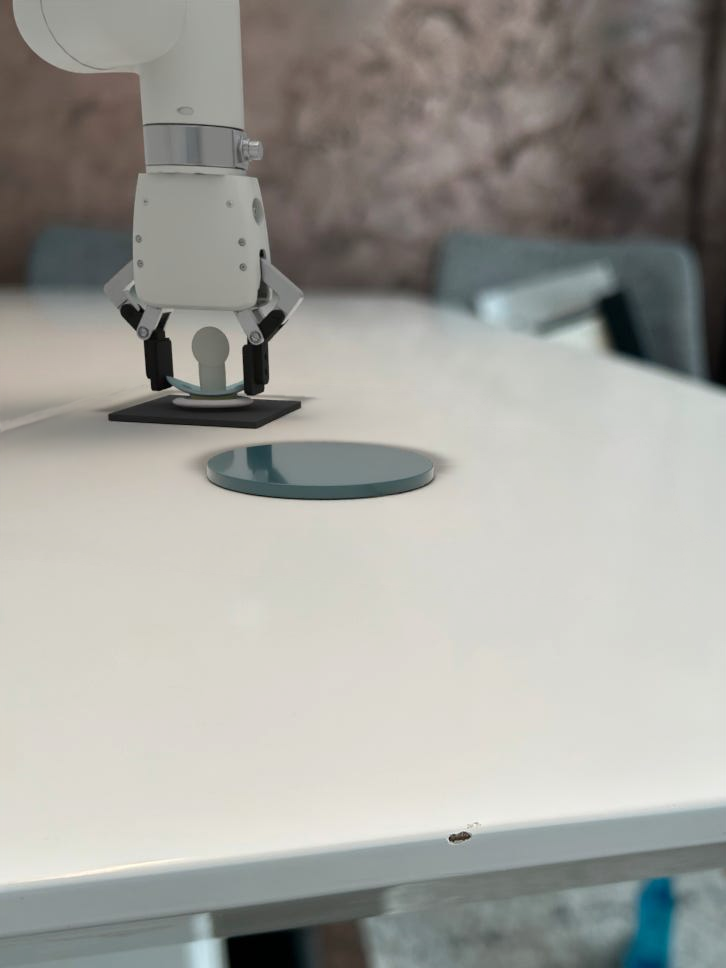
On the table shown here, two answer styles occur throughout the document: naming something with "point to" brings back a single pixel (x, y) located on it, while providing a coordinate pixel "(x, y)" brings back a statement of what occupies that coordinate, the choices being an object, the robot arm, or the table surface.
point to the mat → (206, 413)
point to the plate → (320, 470)
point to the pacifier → (210, 374)
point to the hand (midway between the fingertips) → (208, 389)
